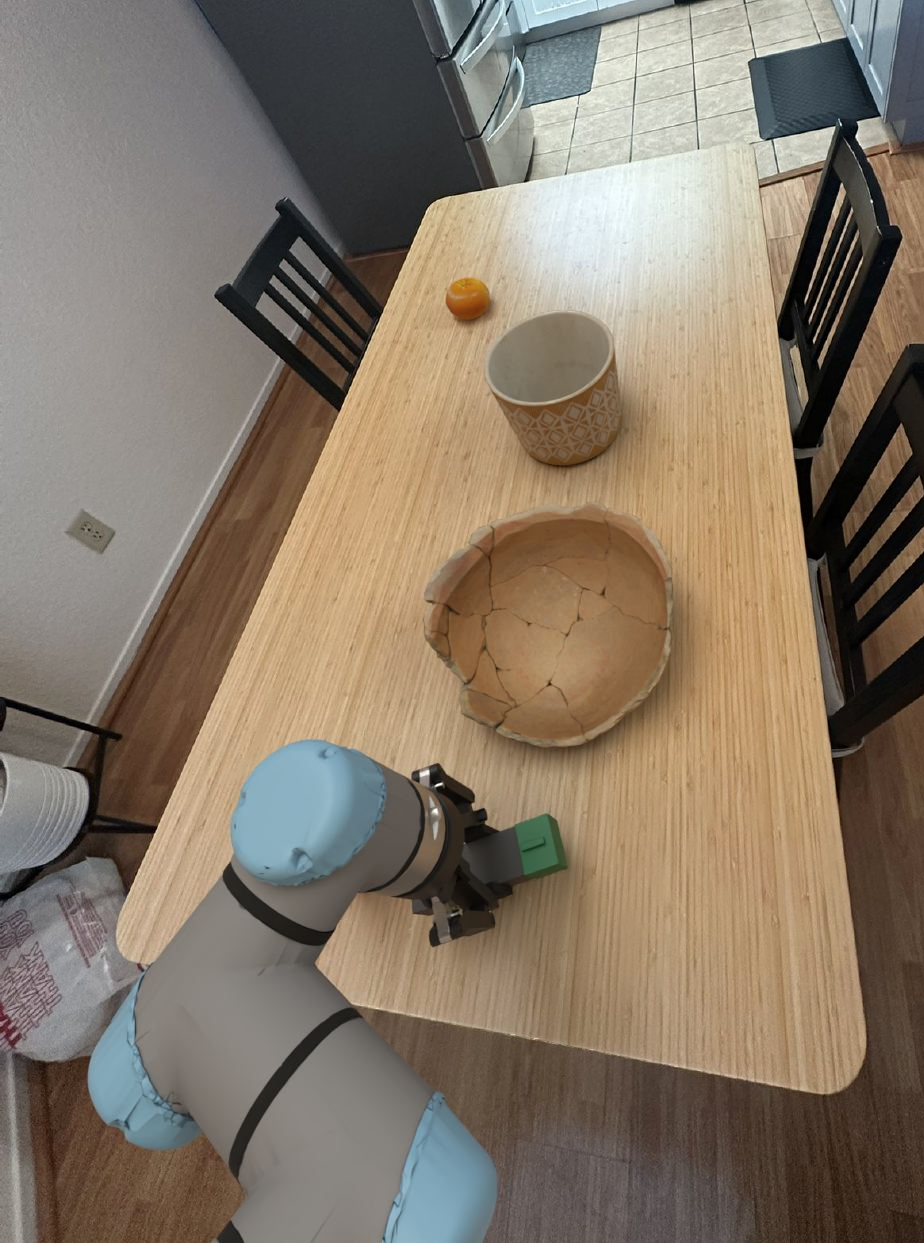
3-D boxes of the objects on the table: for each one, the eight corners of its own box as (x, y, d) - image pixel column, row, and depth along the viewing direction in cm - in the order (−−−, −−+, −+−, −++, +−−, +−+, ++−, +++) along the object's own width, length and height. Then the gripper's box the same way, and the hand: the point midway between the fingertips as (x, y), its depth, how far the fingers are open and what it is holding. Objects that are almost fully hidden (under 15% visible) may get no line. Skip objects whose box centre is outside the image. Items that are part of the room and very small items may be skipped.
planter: (562, 496, 98) (535, 427, 85) (492, 432, 108) (459, 362, 95) (654, 422, 102) (642, 346, 89) (579, 367, 113) (558, 292, 100)
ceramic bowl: (497, 805, 72) (447, 750, 62) (442, 629, 92) (397, 565, 82) (727, 679, 76) (713, 608, 66) (626, 535, 96) (604, 463, 86)
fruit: (500, 282, 127) (467, 263, 121) (493, 321, 125) (460, 304, 119) (475, 293, 133) (442, 275, 127) (468, 331, 131) (435, 315, 125)
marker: (429, 917, 65) (409, 915, 61) (424, 866, 68) (404, 861, 64) (568, 868, 65) (557, 862, 61) (557, 819, 68) (545, 811, 64)
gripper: (467, 960, 43) (549, 955, 61) (433, 708, 53) (512, 768, 72) (361, 997, 43) (475, 981, 61) (348, 738, 53) (449, 791, 72)
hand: (495, 866), depth 66 cm, fingers closed on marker, 4 cm apart
